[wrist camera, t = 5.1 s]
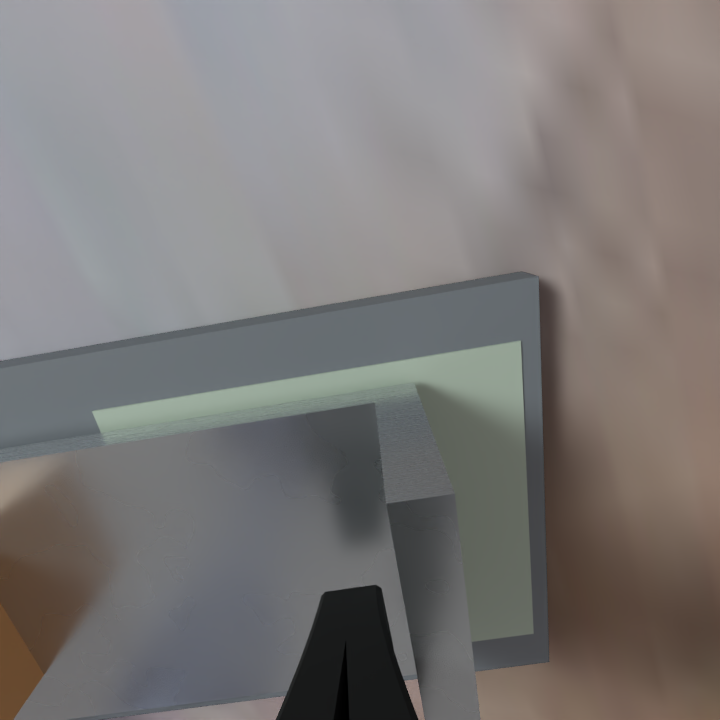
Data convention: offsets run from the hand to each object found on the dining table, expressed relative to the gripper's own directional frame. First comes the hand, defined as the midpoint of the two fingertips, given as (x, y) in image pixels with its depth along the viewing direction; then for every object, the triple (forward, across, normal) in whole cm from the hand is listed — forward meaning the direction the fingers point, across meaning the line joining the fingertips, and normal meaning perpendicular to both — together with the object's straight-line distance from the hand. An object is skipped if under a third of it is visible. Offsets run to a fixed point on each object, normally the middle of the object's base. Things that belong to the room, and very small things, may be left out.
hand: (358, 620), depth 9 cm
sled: (+2, +7, 0) cm, 8 cm away
